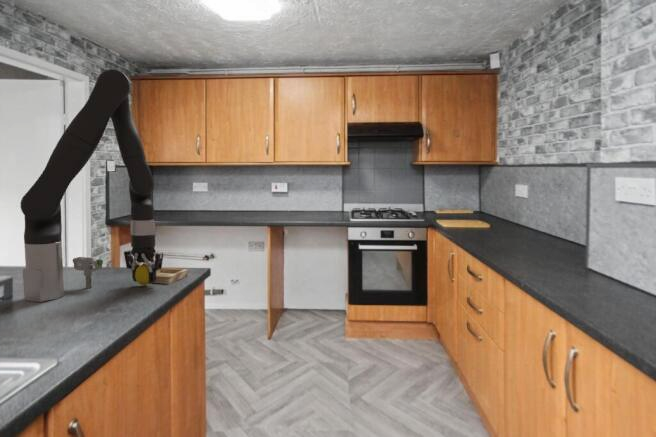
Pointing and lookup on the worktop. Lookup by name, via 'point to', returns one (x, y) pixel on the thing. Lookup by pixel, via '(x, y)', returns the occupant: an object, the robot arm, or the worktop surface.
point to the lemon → (142, 274)
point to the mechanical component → (87, 267)
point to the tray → (170, 275)
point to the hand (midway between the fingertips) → (144, 281)
